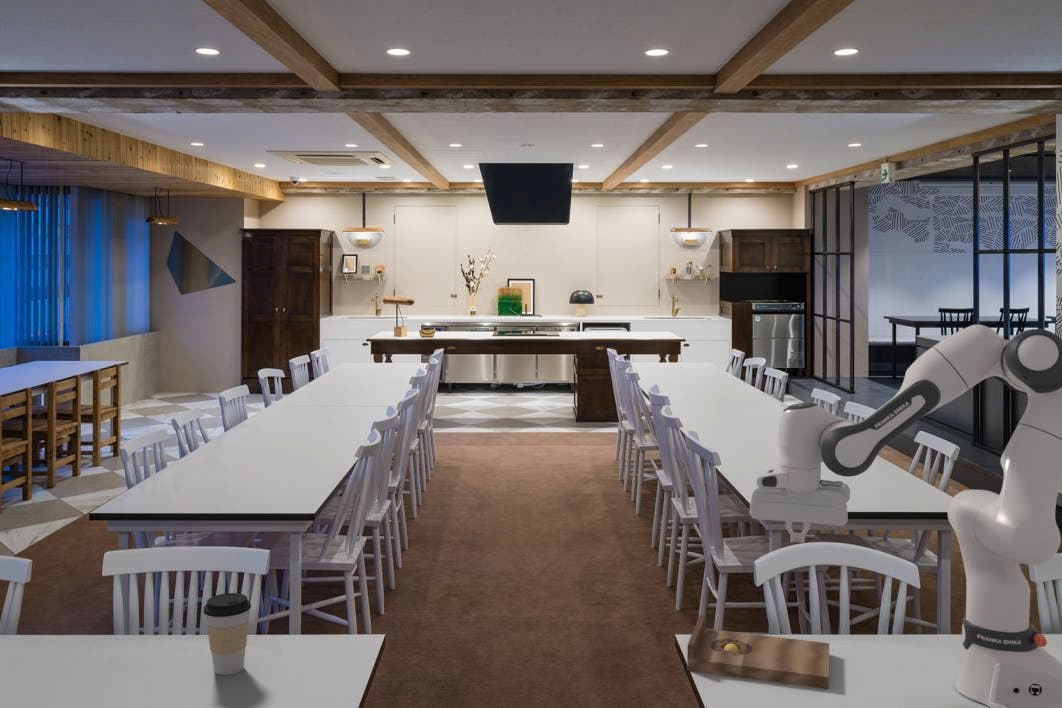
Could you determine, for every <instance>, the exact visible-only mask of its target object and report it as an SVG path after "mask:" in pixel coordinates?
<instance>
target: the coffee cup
mask: <svg viewBox="0 0 1062 708" xmlns="http://www.w3.org/2000/svg"><path fill="white" fill-rule="evenodd" d="M251 608H252V604H251V601H250V600H249V599H248V596H247V595H245V594H243V593H237V592H229V593H228V592H227V593H222V594H216V595H214V596H211V597H210V598H208V599H207V601H206V604H204V607H203V610H202V611H203V612H202V613H203V614H204V615H206V619H207V623H206V626H207V634H208V641H209V648H210V652H211V656H212V657H211V658H212V659H211V660H212V665H213V671H214V673H215V674H216V675H218V676H231V675H236V674H238V673H240V672H242V671H243V670H244V668H245V667H244V666H245V657H246V647H247V642H248V641H247V640H248V629H249V610H250V609H251Z"/></svg>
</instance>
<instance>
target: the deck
mask: <svg viewBox="0 0 1062 708" xmlns="http://www.w3.org/2000/svg"><path fill="white" fill-rule="evenodd" d="M693 628H694V629H693V631H692V632H691V635H690V638H689V641H688V643H687V656H686V658H687V659H686V661H687V662H686V664H687V665H686V667H687V670H686V671H690V672H697V673H704V674H711V675H717V676H718V675H719V676H727V677H735V678H740V679H741V678H742V679H749V680H758V681H765V682H771V683H780V684H787V685H793V686H802V687H809V688H811V687H812V688H818V689H824V690H830V689H829V687H830V686H829V683H830V682H829V680H830V643H829V642H821V641H812V640H804V639H797V638H796V639H795V638H787V637H779V636H770V635H763V634H753V633H746V632H737V631H729V630H720V629H719V630H718V629H713V628H706V615H703V614H700V615H698V618H697V621H696V624H695V626H694V627H693ZM727 644H734V645H736V646H737V647H738V649H739V651H726V650H724V648H725V646H726V645H727Z"/></svg>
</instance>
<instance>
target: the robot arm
mask: <svg viewBox="0 0 1062 708" xmlns="http://www.w3.org/2000/svg"><path fill="white" fill-rule="evenodd" d="M990 377H993V378H994V379H995V380H997V381H999V382H1001V383H1002V384H1004V385H1005V386H1007V387H1008V388H1009V389H1012V391H1015V392H1017V393H1020V394H1024V395H1027V406H1026V408H1025V411H1024V413H1023V415H1022V417H1021V418H1020V419H1019V422H1018V424H1017V426H1016V427H1015V430H1014V431H1013V434H1012V435H1011V437H1010V439H1009V441H1008V442H1007V445H1006V446H1005V449H1004V450H1003V452H1002V454H1001V457H1000V466H1001V468H1002V470H1003V480H1002V487H1001V491H1000V493H999V494H998V493H996V492H993V491H990V490H986V489H965V490H962V491H960V492H959V493H957V494H955V495H954V496H953V497H952V499H951V500H950V502H949V504H948V507H947V518H948V519H947V520H948V522H949V524H950V526H951V528H952V529H953V531H954V533H955V535H956V538H957V540H958V544H959V549H960V553H961V557H962V562H963V566H964V572H965V579H966V589H965V591H966V594H965V595H966V598H965V601H966V602H965V615H964V616H963V622H962V624H961V625H962V626H961V643H962V646H963V648H962V655H961V659H960V660H961V661H960V665H959V668H958V670H957V671H958V672H957V675H956V678H955V680H954V683H953V686H954V687H955V689H956V690H957V691H958V692H959V693H960V694H961V695H963V696H965V697H966V698H968V699H970V700H973V701H975V702H978V703H981V704H983V705H985V706H987V707H988V708H1062V663H1061V661H1059V660H1058V659H1056V658H1055V657H1054V656H1053V655H1052V654H1050V653H1049V652H1048V651H1047V650H1045V649H1044V648H1045V647H1046V646H1047V644H1048V641H1047V639H1046V637H1045V635H1043V634H1042V633H1041V632H1040V630H1039V629H1037V628H1036V626H1035V625H1034V624H1030V608H1031V607H1030V606H1031V588H1030V584H1029V582H1028V580H1027V579H1026V577H1025V575H1024V574H1023V573H1024V572H1023V571H1022V568H1021V567H1020V564H1022V565H1030V566H1038V565H1044V564H1045V563H1048V562H1049V561H1051V559H1053V558H1054V556H1055V555H1056V554H1057V552H1059V551H1058V550H1059V549H1060V545H1061V532H1060V528H1059V527H1058V525H1057V522H1056V521H1057V519H1056V506H1057V499H1058V494H1059V490H1060V487H1061V485H1062V338H1061V337H1060V336H1058V335H1057V334H1056V333H1054V332H1052V331H1050V330H1047V329H1044V328H1043V329H1042V328H1032V329H1027V330H1024V331H1021V332H1019V333H1017V334H1016V335H1015V336H1013V337H1012V338H1011V340H1010V339H1004V338H1003V337H1000V335H999V334H998V333H997V332H996V331H994V330H993V329H992V328H990V327H989V326H986V325H983V324H972V325H969V326H967V327H964V328H963V329H960V330H959V331H956V332H955V333H953V334H951V335H949V336H948V337H947V336H946V337H945V338H944V339H942V340H940V341H939V342H938V343H936V344H935V345H933V346H932V347H930V348H929V349H928V350H926V351H924V352H923V353H922V354H921V355H919V357H917V358H916V359H915V360H914V362H912V364H911V365H910V366H909V367H908V368H907V369H906V371H905V375H904V378H903V381H902V384H901V387H900V388H899V390H898V391H897V393H896V394H895V395H894V396H893V397H891V399H889V400H888V401H887V402H886V403H885V404H882V406H880V407H879V408H877V410H875V411H873V412H872V413H871V414H870V415H869V416H867V417H866V418H864V419H863V420H861V421H859V422H855V421H853V420H850V419H847V418H844V417H840V416H838V415H836V414H833V413H831V412H830V411H827V410H826V409H824V408H823V407H821V405H819V404H818V403H815V402H799V403H793V404H791V405H788V406H787V407H785V408H784V409H783V411H782V412H781V415H780V418H779V426H778V439H777V440H778V441H777V442H778V447H779V457H778V460H777V467H776V468H771V469H767V470H764V471H760V472H759V473H758V474H757V475H756V479H755V482H756V484H755V486H754V489H753V491H752V492H751V497H750V504H749V515H750V516H751V518H752V519H754V520H766V521H775V522H776V521H777V522H785V524H784V525H785V528H786V530H787V532H788V533H789V535H790V537H789V538H790V539H789V541H790V543H798V544H805V541H806V540H805V539H806V538H805V537H806V535H807V533H808V532H809V531H810V529H811V524H812V525H813V524H814V525H816V524H817V525H826V526H827V525H828V526H838V527H839V526H840V527H841V526H842V527H844V526H845V525H847V523H848V522H849V521H848V518H849V517H848V516H849V515H848V514H849V513H848V505H847V503H848V502H849V501H850V499H851V489H850V487H849V485H848V484H846V483H843V482H844V481H840V480H835V481H834V480H828V479H827V480H826V479H821V475H822V474H821V473H822V472H821V471H822V468H821V467H822V463H824V465H825V467H826V468H827V469H828V470H829V471H831V472H832V473H834V474H835V475H837V476H841V477H848V478H849V477H850V478H851V477H855V476H859V475H862V474H863V473H865V472H866V471H867V470H868V469H869V468H870V467H871V466H872V464H873V463H874V462H875V459H876V457H877V456H878V454H879V453H880V452H881V450H883V448H884V447H885V446H886V445H887V444H889V443H890V442H892V441H894V439H895V438H897V437H898V436H899V435H900V434H902V433H903V432H905V431H906V430H907V429H908V428H910V427H911V426H912V425H913V424H915V423H916V422H918V421H919V420H920V419H921V418H923V417H925V416H927V415H928V414H930V413H932V412H934V411H936V410H938V409H939V408H940V407H943V406H944V405H946V404H949V403H950V402H952V401H954V400H955V399H957V398H958V397H960V396H961V395H963V394H964V393H967V392H968V391H969V390H971V389H972V388H973V387H974V386H976V385H977V384H979V383H981V382H982V381H983V380H985V379H988V378H990ZM793 523H802V525H803V526H802V527H803V530H802V531H801V532H794V529H793V528H792V527H793Z"/></svg>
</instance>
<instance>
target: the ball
mask: <svg viewBox="0 0 1062 708" xmlns="http://www.w3.org/2000/svg"><path fill="white" fill-rule="evenodd" d="M724 650H726V651H739V649H738V647H737V646H736V645H734V644H727V645H726V646H725V648H724Z"/></svg>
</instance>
